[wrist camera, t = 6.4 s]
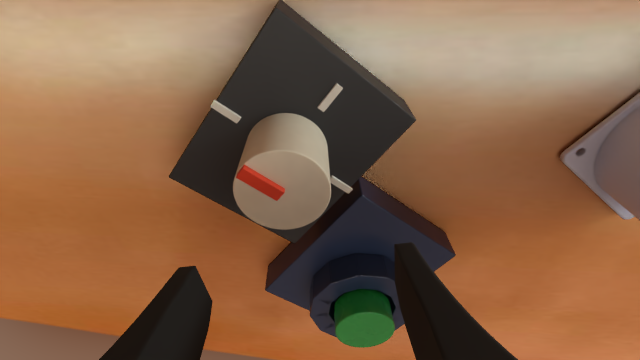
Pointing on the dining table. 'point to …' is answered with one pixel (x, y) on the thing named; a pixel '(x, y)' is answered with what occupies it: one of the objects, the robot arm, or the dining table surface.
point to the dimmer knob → (283, 173)
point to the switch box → (353, 253)
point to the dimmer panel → (294, 111)
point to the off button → (363, 318)
